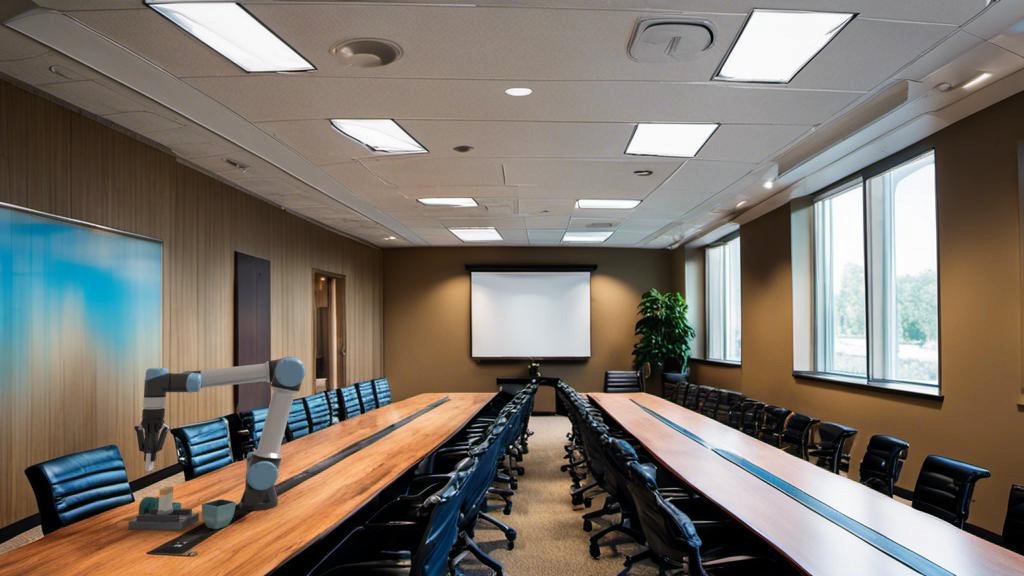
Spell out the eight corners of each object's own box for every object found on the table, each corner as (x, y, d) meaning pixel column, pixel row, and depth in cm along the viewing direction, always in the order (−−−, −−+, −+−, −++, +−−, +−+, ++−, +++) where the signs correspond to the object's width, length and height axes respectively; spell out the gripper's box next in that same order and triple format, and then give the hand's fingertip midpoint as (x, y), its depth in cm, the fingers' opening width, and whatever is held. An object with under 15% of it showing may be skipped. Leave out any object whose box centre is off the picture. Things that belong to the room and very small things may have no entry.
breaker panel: (198, 521, 237) (198, 512, 237) (181, 530, 225) (182, 521, 225) (147, 520, 237) (148, 511, 237) (128, 529, 225) (128, 520, 225)
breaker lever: (173, 514, 234) (174, 486, 235) (164, 518, 228) (166, 490, 229) (165, 514, 234) (167, 486, 235) (156, 518, 228) (158, 489, 229)
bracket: (153, 520, 237) (155, 499, 238) (138, 519, 238) (139, 498, 239) (184, 508, 255) (185, 489, 256) (169, 507, 256) (171, 488, 257)
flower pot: (235, 525, 232) (237, 501, 232) (215, 531, 224) (217, 507, 225) (219, 522, 235) (220, 498, 236) (199, 528, 227) (200, 504, 228)
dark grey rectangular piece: (191, 513, 236) (192, 508, 236) (176, 521, 225) (176, 516, 226) (153, 512, 236) (153, 508, 237) (136, 520, 226) (136, 515, 226)
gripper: (176, 407, 238) (171, 468, 236) (143, 406, 238) (138, 467, 236) (165, 409, 231) (160, 472, 229) (131, 408, 231) (125, 471, 229)
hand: (149, 470), depth 232 cm, fingers closed
